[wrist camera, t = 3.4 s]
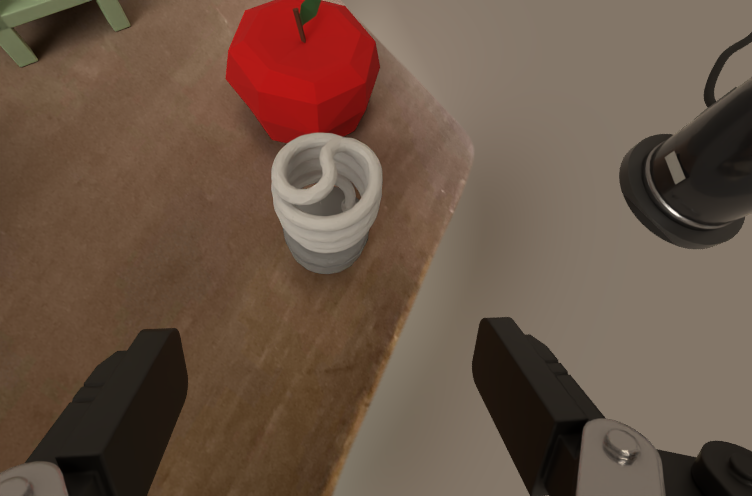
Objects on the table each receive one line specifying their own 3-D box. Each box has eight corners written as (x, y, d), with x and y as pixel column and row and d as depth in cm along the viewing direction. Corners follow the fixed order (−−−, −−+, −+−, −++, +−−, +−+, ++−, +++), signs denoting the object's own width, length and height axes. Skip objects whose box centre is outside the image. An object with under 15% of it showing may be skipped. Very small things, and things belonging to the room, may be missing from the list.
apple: (323, 190, 31) (324, 101, 21) (214, 121, 32) (169, 7, 22) (393, 104, 34) (419, -3, 25) (294, 45, 35) (284, -80, 26)
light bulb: (325, 305, 27) (327, 242, 16) (270, 251, 28) (236, 157, 17) (379, 252, 29) (414, 163, 18) (326, 203, 30) (328, 90, 19)
